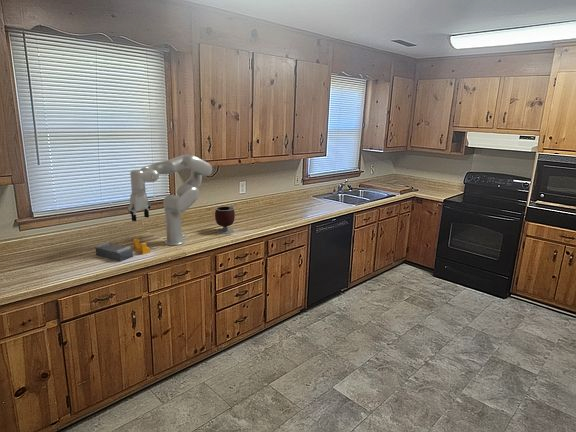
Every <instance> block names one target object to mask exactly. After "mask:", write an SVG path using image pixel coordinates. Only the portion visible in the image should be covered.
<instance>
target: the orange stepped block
mask: <svg viewBox="0 0 576 432" xmlns="http://www.w3.org/2000/svg"><path fill="white" fill-rule="evenodd" d="M139 239H140V238H134V239H133V249H134V251H137V252H138V253H140V254H142V255H145V254H149V253H151V248H150V247H148V246H147V242H142V243H140V240H139Z"/></svg>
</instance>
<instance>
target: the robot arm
mask: <svg viewBox="0 0 576 432" xmlns="http://www.w3.org/2000/svg"><path fill="white" fill-rule="evenodd" d="M185 169H189V170H190V176H189V177H188V178H187V179H186V180H185V181H184V182H183V183H182V184H181V185H180V186H178V188H177V190H176V194H177V195H176V194H167V195H166V196H165V197H164V198H163V202H162V203H163V204H162V205H163V208H164V215H165V232H166V239H165V240H164V241H163V242H164V245H167V246H173V247H174V246H179V245H183V244H184V243H185V237H186V236H187V233H184V234H182V231H183V230H182V216H181V213H183V212H186V211H187V210H188V209H189V208H190V207H191V206H193V204H194V203H195V202H196V201H197V200H198V199H199V195H200V190H199V188H200V186H201V185H202V182H203V181H202V180H203V179H202V178H203V176H204V177H208V176H210V175H211V174H213V167H212V165H211V163H209V162H208V161H205V160H203V159H201V158H200V157H198V156H196V155H191V154H182V155H179V156H176V157H173V158H170V159H167V160H164V161H160V162H155V163H151V164H149V165H146V166H143V167H141V168H140V169H132V170H130V185H131V194H130V196H129V206H128V207H127V208H126V209H127V211H128V213H129V214H130V216H131V221H132V222H137V215H136V213H137V212H139V211H140V212H141V211H143V210H144V211H143V214H144V218H149V217H150V213H149V212H150V209H151V206H152V202H150V201H148V195H147V192H146V190H147V188H146V182H147V183H155V182H157V181H158V179H160V175H171V174H175V173H177V172H180V171H182V170H185Z"/></svg>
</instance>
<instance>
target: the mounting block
mask: <svg viewBox="0 0 576 432" xmlns="http://www.w3.org/2000/svg"><path fill="white" fill-rule="evenodd" d="M94 250H95V255H96V256H97V257H101V258H106V259H109V260H112V261H116V262H119V263H121V262H124V261H125V260H129V259H131V258H134V253H133V248H131V246H130V245H128V246H122V245H119V244H114V243H112V241H107V242H105V243H101V244H98V245H97V246H95V249H94Z"/></svg>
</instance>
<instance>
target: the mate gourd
mask: <svg viewBox="0 0 576 432" xmlns="http://www.w3.org/2000/svg"><path fill="white" fill-rule="evenodd" d="M235 205H237V203H234V204H232V205H229V206H227V205H223V206H217V207H215V210H214V211H215V212H214V218H215V223H216V224H217V225H218V226H220V227H221V228H218V229H217V230H216V233H217V234H221V235H230V234H233V233H234V231H235V229H233V228H229V227H230V226H232V225H233V223H234V222H235V216H236V214H235V213H236V212H235V208H234V207H235Z"/></svg>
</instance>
